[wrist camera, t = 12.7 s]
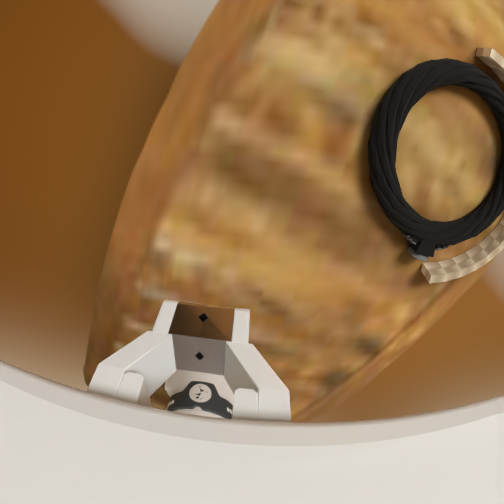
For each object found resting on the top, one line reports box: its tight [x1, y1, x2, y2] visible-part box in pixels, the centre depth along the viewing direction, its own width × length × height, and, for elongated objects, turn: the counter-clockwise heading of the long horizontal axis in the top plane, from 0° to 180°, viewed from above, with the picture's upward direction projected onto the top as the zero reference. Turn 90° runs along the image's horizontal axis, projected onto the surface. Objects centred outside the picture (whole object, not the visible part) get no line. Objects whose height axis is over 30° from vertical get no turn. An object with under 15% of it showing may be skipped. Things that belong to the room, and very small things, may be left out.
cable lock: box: [368, 58, 504, 261], centre depth 34 cm, size 28×4×30 cm
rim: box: [421, 48, 504, 283], centre depth 34 cm, size 37×17×4 cm, turn 175°
